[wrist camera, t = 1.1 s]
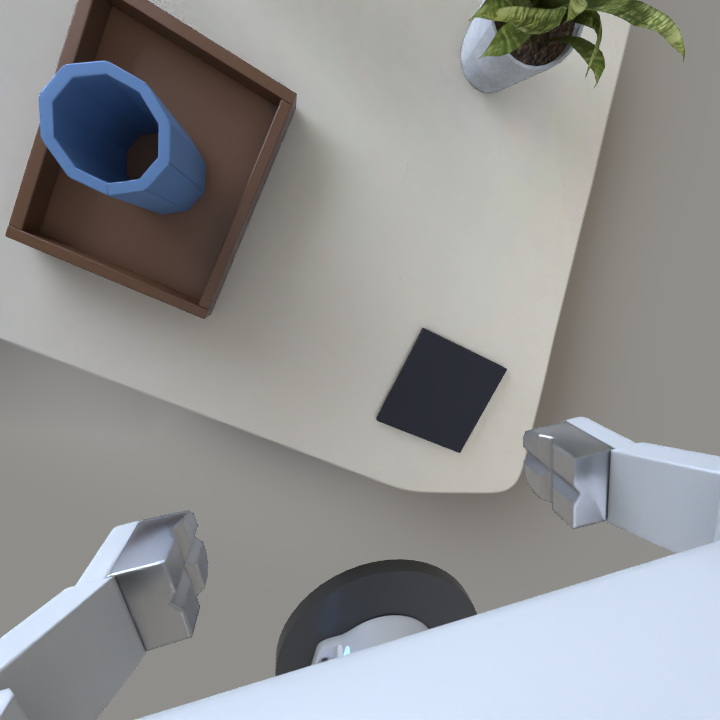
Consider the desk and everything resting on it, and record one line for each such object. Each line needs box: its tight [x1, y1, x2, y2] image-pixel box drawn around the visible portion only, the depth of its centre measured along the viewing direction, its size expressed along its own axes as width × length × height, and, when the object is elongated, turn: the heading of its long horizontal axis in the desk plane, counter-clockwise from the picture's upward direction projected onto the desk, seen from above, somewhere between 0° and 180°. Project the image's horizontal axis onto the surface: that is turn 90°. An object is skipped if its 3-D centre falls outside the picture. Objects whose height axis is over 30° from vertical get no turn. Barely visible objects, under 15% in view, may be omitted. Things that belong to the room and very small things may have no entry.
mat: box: [377, 328, 507, 453], centre depth 37 cm, size 10×10×1 cm
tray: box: [5, 0, 297, 319], centre depth 27 cm, size 18×14×2 cm
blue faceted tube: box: [39, 61, 206, 214], centre depth 23 cm, size 6×6×9 cm
